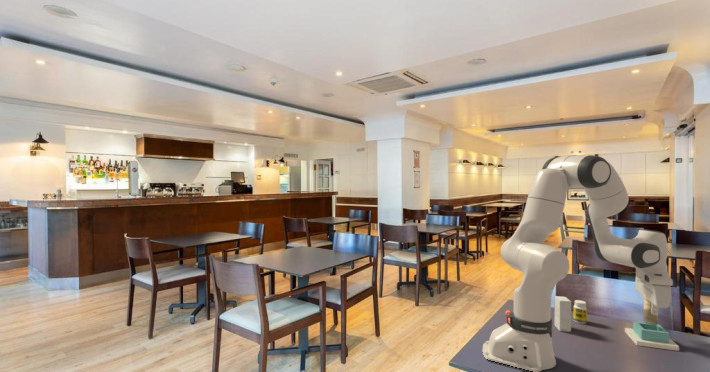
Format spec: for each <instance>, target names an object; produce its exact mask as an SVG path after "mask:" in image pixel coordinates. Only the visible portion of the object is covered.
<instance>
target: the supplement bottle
mask: <svg viewBox="0 0 710 372" xmlns="http://www.w3.org/2000/svg"><path fill="white" fill-rule="evenodd" d="M572 309H573V314H572V315H573V317H572V318H573V319H572V320H573V322H575V323H577V324H583V325H584V324H587V322H588V308H587V302H586V301H584V300H579V299H575V300H574V305H573V308H572Z"/></svg>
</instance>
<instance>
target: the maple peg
mask: <svg viewBox="0 0 710 372" xmlns="http://www.w3.org/2000/svg"><path fill="white" fill-rule="evenodd" d="M651 306H652V305H651V302H650V301H649V300H647V299H646V295H644V301H643V323H647V324H651V325H658V324H659V314H658V315H653V314H651V313H650V308H651Z"/></svg>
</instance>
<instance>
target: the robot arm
mask: <svg viewBox="0 0 710 372" xmlns="http://www.w3.org/2000/svg"><path fill="white" fill-rule="evenodd" d="M569 189H584V191H585V194H586V196H587V198H588V201H589V202H588V203H589V204H587V206H586V215H587V219H588V223H589V226H590V231H591V234H592V237H593V241H594V242H593V243H594V245H593V246H594V253H595V254H596V256H597V257H598V259H599V260H600V261H601V262H604V263H613V264H618V265H623V266H626V267H631V268H635V282H634V288H635V291H636V292H637V293H638V294H639V295H641V296H642V300H643V302H644V295H646V299H647V300H649V301H650V302H651V305H652V306H651V308H650V313H651V314H653V315H658V316H659V309H660V308H662V309H668V308H670V306H671V301H672V300H671V299H672V288H671V287H672V286H673V285H674V283H673V282H674V281H673V279H672V278H671V276H670V274H669V272H668V265H667V258H668V255H669V254H668V253H669V252H668V249H669V247H668V241H667V237H666V234H665V233H664V232H662V231H658V230H653V229H652V230H651V229H646V228H643V229H639V230H638V231H637V235H636V236H635V237H633V238H631V239H630V238H629V239H628V238H625V237H624V238H623V237H618V236H615V235H614V234H612V233H611V229H610V225H609V222H608V218H609V217H612V216H614V215H617V214H619V213H621V212H622V211H623V210H625V208H627V205H628V204H629V200H630V199H629V195H628V191H627V189H626V187H625V185H624V182H623V180H622V178H621V177H620V175H619V173H618V172H617V170H616V169H615V168H614V166H613V164H611V163H610V162H608V160H606V159H605V158H604V157H602V156H599V155H590V154H589V155H577V154H571V155H563V156H558V155H557V156H555V157H552V158H550V159H547V160H546V161H545V162H544V164H543V166H542V168H541V169H540V170H539V171H538V172H536V174H535V177H534V178H533V181H532V183H531V185H530V188H529V191H528V195H527V198H526V199H527V200H526V203H525V206H524V210H523V214H522V217H521V220H520V223H519V225H518V226H517V228H516V230H515V232H513V234H512V236H511V237H509V238H508V239H506V240H505V241H504V242H503V244H502V245H501V247H500V257H501V259H502V260H503V262H504V263H506V265H508V266H509V267H510V268H512V269H513V270H517V271H519V272H521V273H522V274H523V275H522V276H523V277H522V280H521V284H520V285H519V286H517V287H516V288H515V289H514V291H513V311H512V312H511V311H510V310H506V311H505V312H504V313H505V315H504V316H505V317H506V323H504V324H503V325H500V326H499V327H497V328H494V329H493V331H492V332H491V333H490V336H489V340H486V341H484V343H483V344H482V350H481V351H482V352H483V353H482V352H481V353H482V355H484V356H483V357H484V358H485V359H486V360H487V359H488V360H491V361H495V362H499V363H503V364H507V365H510V366H509V367H511V366H513V367H512V368H515V367H517V368H516V369H519V368H522V369H521V370H523V369H525V370H524V371H526V370H529V371H528V372H530V371H533V372H541V371H543V370H549V369H553V368H554V367H556V365H557V360H556V358H555V357H556V356H555V353H554V349H553V340H552V337H553V330H554V329H553V326H554V325H553V324H554V323H553V320H552V316H551V315H552V312H551V311H552V295H553V292H554V290H555V287H556V285H557V284H558V283H559V282H560V281H562V280H563V279H565V278H566V277H567V275H568V273H569V270H570V260H569V258H568V257H567V255H566V254H565V253H564V252H563V251H561V250H559V249H557V248H556V247H554V246H552V245H549V244H545V242H546V240H547V238H548V237H549V236H550V235H551V234H552V233H554V232H556V231H557V230H559V228H560V226H561V221H562V218H563V217H562V216H563V213H564V208H565V206H566V199H567V192H568V190H569ZM488 360H487V361H488ZM491 361H490V362H491ZM495 362H494V363H495ZM499 363H498V364H499ZM503 364H502V365H503ZM507 365H506V366H507Z"/></svg>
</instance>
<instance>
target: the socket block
mask: <svg viewBox="0 0 710 372" xmlns="http://www.w3.org/2000/svg"><path fill="white" fill-rule="evenodd" d="M624 333H626V335H627V336H628V338H630V339H631V341H632V342H633V343H634V344H635V345H636V346H639V347H645V348H656V349H662V350H669V351H677V352H679V351H680V346H679V345H678V344H677V343H676V342H675V341H673V339H672V338H670V332H669V331H667V329H665V328H664V327H663V326H662V325H661V324H659V323H658V325H651V324H647V323H645V322H642V321H632V328H631V327H624Z"/></svg>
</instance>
